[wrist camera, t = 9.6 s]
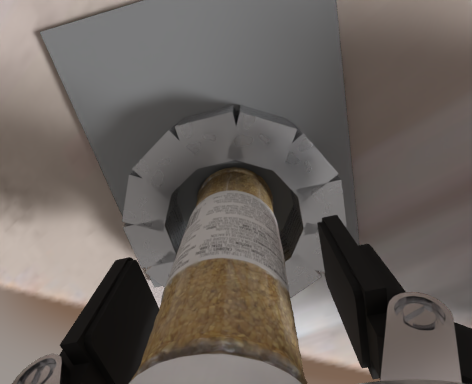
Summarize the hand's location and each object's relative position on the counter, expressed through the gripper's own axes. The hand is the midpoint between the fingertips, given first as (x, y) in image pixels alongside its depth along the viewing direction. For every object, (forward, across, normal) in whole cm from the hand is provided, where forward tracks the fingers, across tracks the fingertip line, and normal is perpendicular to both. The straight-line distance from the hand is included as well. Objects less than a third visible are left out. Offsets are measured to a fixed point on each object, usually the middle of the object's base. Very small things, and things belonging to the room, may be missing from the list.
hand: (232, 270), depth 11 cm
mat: (+7, 0, -3) cm, 8 cm away
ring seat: (+7, 0, 0) cm, 7 cm away
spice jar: (+6, 0, 0) cm, 7 cm away
